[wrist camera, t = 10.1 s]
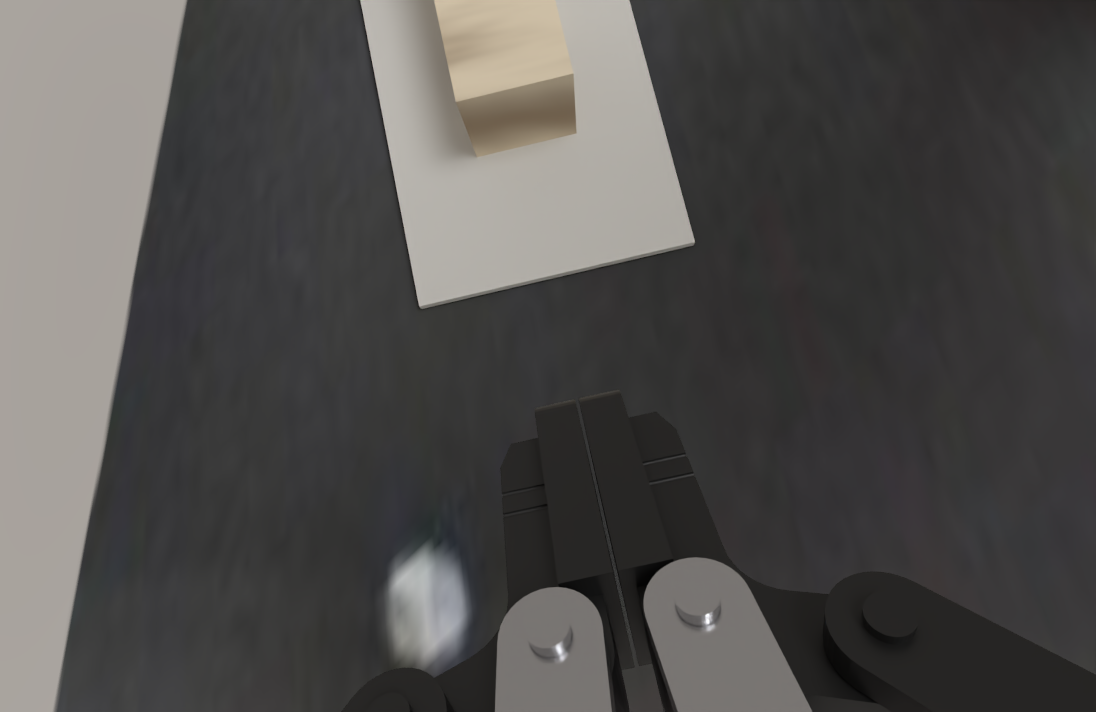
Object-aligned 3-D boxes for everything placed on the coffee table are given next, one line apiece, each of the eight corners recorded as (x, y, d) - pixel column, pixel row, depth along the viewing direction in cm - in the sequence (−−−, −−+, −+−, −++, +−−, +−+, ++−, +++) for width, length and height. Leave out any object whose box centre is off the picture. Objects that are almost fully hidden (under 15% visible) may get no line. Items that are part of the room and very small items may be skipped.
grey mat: (353, -47, 42) (349, -55, 41) (597, -109, 41) (597, -117, 41) (421, 309, 38) (419, 306, 37) (693, 245, 37) (694, 242, 37)
